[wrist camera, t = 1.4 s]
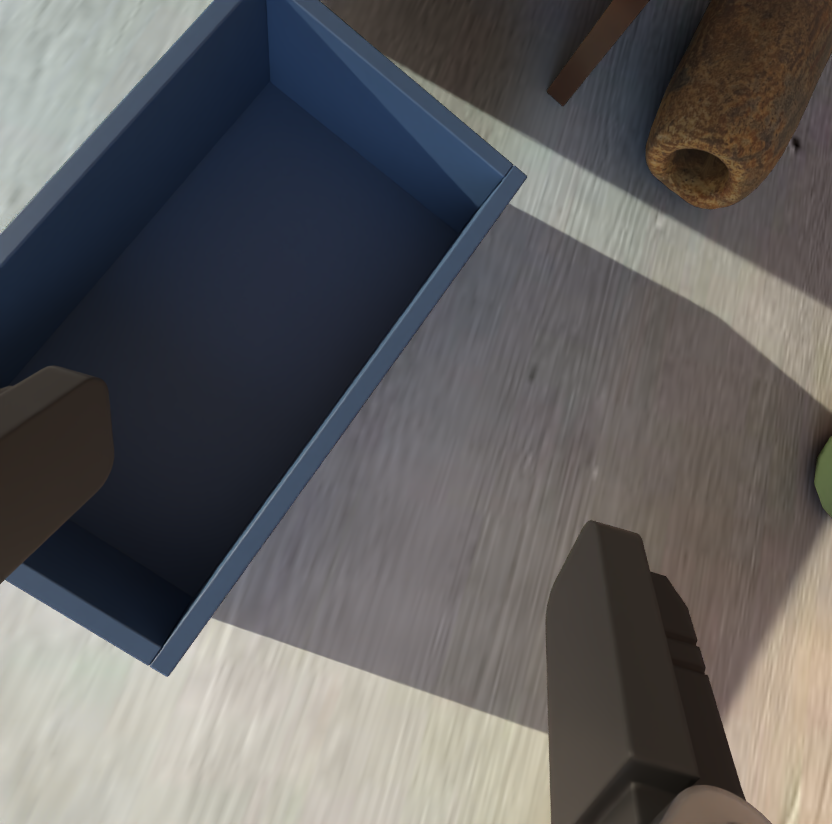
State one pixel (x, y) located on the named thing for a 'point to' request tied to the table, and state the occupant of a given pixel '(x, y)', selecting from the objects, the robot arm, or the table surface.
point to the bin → (232, 296)
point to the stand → (594, 47)
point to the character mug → (824, 477)
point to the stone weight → (738, 97)
